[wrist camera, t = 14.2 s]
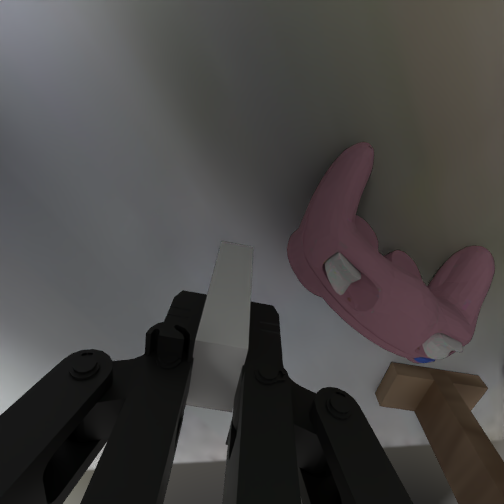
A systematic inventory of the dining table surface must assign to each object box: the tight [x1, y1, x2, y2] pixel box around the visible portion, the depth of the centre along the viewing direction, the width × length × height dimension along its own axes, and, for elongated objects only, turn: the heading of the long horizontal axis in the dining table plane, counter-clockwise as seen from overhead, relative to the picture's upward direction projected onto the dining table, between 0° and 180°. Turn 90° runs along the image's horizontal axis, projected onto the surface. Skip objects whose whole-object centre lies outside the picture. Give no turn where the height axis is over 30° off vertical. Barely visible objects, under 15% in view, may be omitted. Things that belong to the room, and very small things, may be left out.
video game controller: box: [287, 142, 495, 363], centre depth 14 cm, size 10×5×7 cm, turn 53°
